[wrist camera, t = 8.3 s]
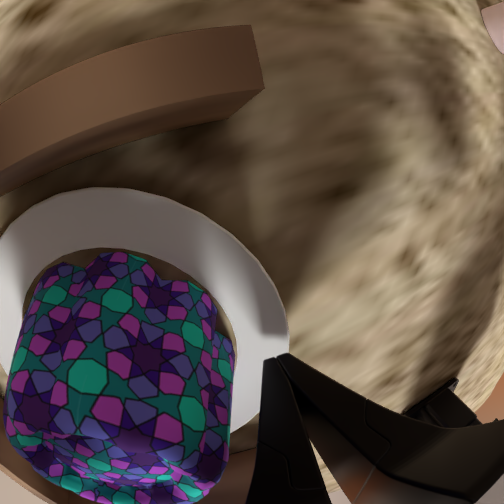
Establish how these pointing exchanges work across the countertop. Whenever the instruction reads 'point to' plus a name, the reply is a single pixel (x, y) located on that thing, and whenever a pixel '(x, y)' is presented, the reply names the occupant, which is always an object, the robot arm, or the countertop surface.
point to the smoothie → (495, 24)
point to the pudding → (131, 346)
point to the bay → (120, 132)
